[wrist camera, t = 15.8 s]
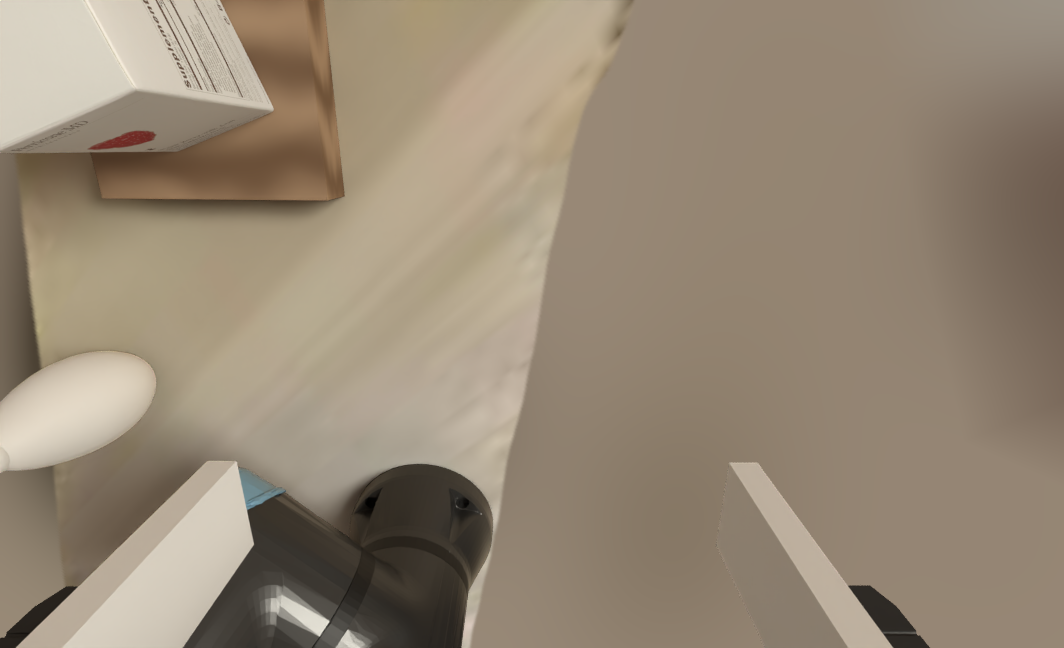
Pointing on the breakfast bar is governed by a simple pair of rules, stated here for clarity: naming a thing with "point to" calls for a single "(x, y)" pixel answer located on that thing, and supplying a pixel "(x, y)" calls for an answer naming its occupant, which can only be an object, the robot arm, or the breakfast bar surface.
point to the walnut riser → (254, 123)
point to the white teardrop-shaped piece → (73, 408)
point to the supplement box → (121, 76)
